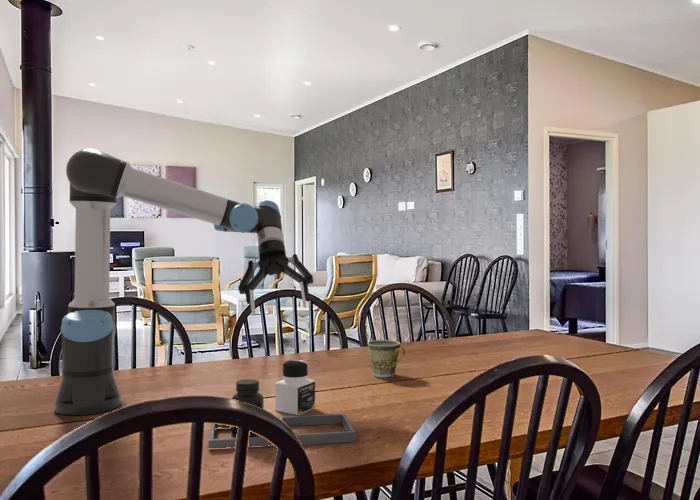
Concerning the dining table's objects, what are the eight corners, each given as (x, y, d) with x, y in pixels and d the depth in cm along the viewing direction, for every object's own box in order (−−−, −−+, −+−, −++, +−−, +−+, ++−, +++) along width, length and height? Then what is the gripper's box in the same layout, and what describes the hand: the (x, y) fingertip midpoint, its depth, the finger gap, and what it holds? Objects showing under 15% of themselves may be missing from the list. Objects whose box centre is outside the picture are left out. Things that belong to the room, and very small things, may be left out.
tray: (208, 450, 119) (208, 440, 119) (211, 429, 132) (211, 420, 132) (355, 441, 125) (355, 432, 125) (344, 421, 138) (344, 413, 137)
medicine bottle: (298, 416, 142) (298, 366, 141) (274, 411, 146) (274, 362, 145) (315, 408, 148) (315, 360, 147) (292, 404, 152) (292, 357, 151)
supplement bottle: (256, 444, 123) (256, 386, 123) (225, 441, 124) (225, 384, 124) (268, 433, 130) (267, 378, 129) (238, 430, 131) (238, 376, 131)
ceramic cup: (360, 375, 182) (360, 342, 181) (381, 370, 189) (381, 338, 189) (393, 383, 173) (394, 348, 172) (414, 376, 180) (414, 344, 180)
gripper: (315, 248, 174) (326, 308, 162) (229, 261, 172) (234, 323, 159) (313, 232, 169) (325, 293, 156) (225, 244, 166) (229, 308, 153)
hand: (279, 308), depth 157 cm, fingers open, 13 cm apart
